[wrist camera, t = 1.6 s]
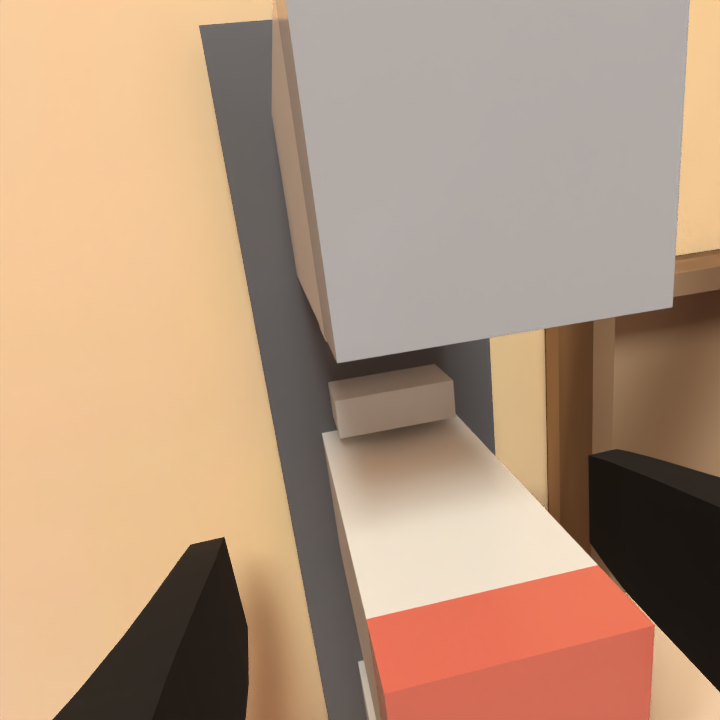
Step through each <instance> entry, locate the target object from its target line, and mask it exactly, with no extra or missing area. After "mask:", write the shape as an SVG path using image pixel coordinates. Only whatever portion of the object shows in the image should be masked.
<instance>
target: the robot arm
mask: <svg viewBox="0 0 720 720" xmlns="http://www.w3.org/2000/svg"><path fill="white" fill-rule="evenodd" d="M588 470H589V542H590V544H591V545H592V547H593V548H594V549H595V551H596V552H597V554H598V555H599V557H600V558H601V559H602V561H603V562H604V564H605V565H606V567H607V568H608V569H609V571H610V572H611V573H612V575H613V576H614V577H615V579H616V580H617V581H618V583H619V584H620V585H621V587H622V588H623V589H624V590H625V591H626V592H627V593H628V594H629V595H630V597H631V598H632V599H633V600H634V601H635V602H636V603H637V604H638V605H639V606H640V607H641V609H642V610H643V611H644V612H645V613H646V614H647V615H648V616H649V617H650V618H651V619H652V620H653V622H654V623H655V624H656V625H657V626H658V627H659V628H660V629H661V630H662V631H663V632H664V633H665V634H666V635H667V636H668V637H669V639H670V640H671V641H672V642H673V643H674V644H675V645H676V646H677V647H678V648H679V649H680V650H681V651H682V652H683V653H684V654H685V656H686V657H687V658H688V659H689V660H690V661H691V662H692V663H693V664H694V665H695V666H696V667H697V668H698V669H699V670H700V672H701V673H702V674H703V675H704V676H705V677H706V678H707V679H708V680H709V681H710V682H711V683H712V684H713V685H714V686H715V687H716V689H717V690H718V691H719V692H720V477H717V476H714V475H710V474H707V473H704V472H700V471H697V470H694V469H690V468H687V467H684V466H680V465H677V464H674V463H670V462H667V461H663V460H660V459H656V458H653V457H649V456H645V455H642V454H638V453H634V452H629V451H624V450H619V449H614V450H609V451H605V452H600V453H596V454H592V455H588ZM248 685H249V678H248V626H247V623H246V619H245V615H244V611H243V607H242V603H241V599H240V596H239V592H238V588H237V584H236V580H235V576H234V572H233V569H232V565H231V561H230V557H229V553H228V549H227V545H226V542H225V538H224V537H223V538H218V539H214V540H209V541H205V542H200V543H196V544H192V545H190V546H189V547H188V549H187V550H186V551H185V553H184V554H183V556H182V557H181V558H180V560H179V561H178V562H177V564H176V565H175V566H174V568H173V569H172V571H171V572H170V573H169V575H168V576H167V578H166V579H165V580H164V582H163V583H162V585H161V586H160V587H159V589H158V590H157V592H156V593H155V594H154V596H153V597H152V598H151V600H150V601H149V603H148V604H147V605H146V607H145V608H144V609H143V611H142V612H141V613H140V615H139V616H138V617H137V619H136V620H135V621H134V623H133V624H132V625H131V627H130V628H129V629H128V631H127V632H126V633H125V635H124V636H123V637H122V638H121V640H120V641H119V642H118V643H117V644H116V646H115V647H114V648H113V649H112V651H111V652H110V653H109V654H108V655H107V657H106V658H105V659H104V660H103V662H102V663H101V664H100V665H99V666H98V668H97V669H96V670H95V671H94V673H93V674H92V675H91V676H90V678H89V679H88V680H87V681H86V682H85V684H84V685H83V686H82V687H81V688H80V690H79V691H78V692H77V693H76V694H75V695H74V696H73V698H72V699H71V700H70V701H69V702H68V703H67V704H66V705H65V706H64V708H63V709H62V710H61V711H60V712H59V713H58V714H57V715H56V716H55V718H54V719H53V720H245V718H246V708H247V697H248Z"/></svg>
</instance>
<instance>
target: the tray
mask: <svg viewBox="0 0 720 720" xmlns="http://www.w3.org/2000/svg"><path fill="white" fill-rule="evenodd" d="M546 382H547V440H548V498H549V514H550V515H551V516H552V517H553V518H554V519H555V520H556V521H557V522H558V523H559V524H560V525H561V526H562V527H563V528H564V530H565V531H566V532H567V533H568V534H569V535H570V536H571V537H572V538H573V539H574V540H575V541H576V542H577V543H578V544H579V545H580V547H581V548H582V549H583V550H584V551H585V552H586V553H587V554H588V555H589V556H590V557H591V558H592V559H593V560H594V561H595V562H596V563H597V565H598V566H599V567H600V568H601V569H602V570H603V571H604V572H605V573H606V574H607V575H608V576H609V577H610V578H611V579H612V580H613V582H614V583H615V584H616V585H617V586H618V587H619V588H620V589H621V590H622V591H623V592H626V591H625V590H624V589H623V588H622V587H621V585H620V584H619V583H618V581H617V580H616V579H615V577H614V576H613V575H612V573H611V572H610V571H609V569H608V568H607V567H606V565H605V564H604V562H603V561H602V559H601V558H600V557H599V555H598V554H597V552H596V551H595V549H594V548H593V547H592V545H591V544H590V542H589V470H588V455H592V454H596V453H600V452H605V451H609V450H614V449H619V450H624V451H629V452H634V453H638V454H642V455H645V456H649V457H653V458H656V459H660V460H663V461H667V462H670V463H674V464H677V465H680V466H684V467H687V468H690V469H694V470H697V471H700V472H704V473H707V474H710V475H714V476H717V477H720V249H718V250H711V251H704V252H698V253H691V254H685V255H678V256H675V271H674V289H673V307H671V308H665V309H659V310H653V311H647V312H641V313H635V314H629V315H623V316H617V317H611V318H605V319H599V320H593V321H587V322H581V323H575V324H569V325H563V326H557V327H551V328H546Z"/></svg>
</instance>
